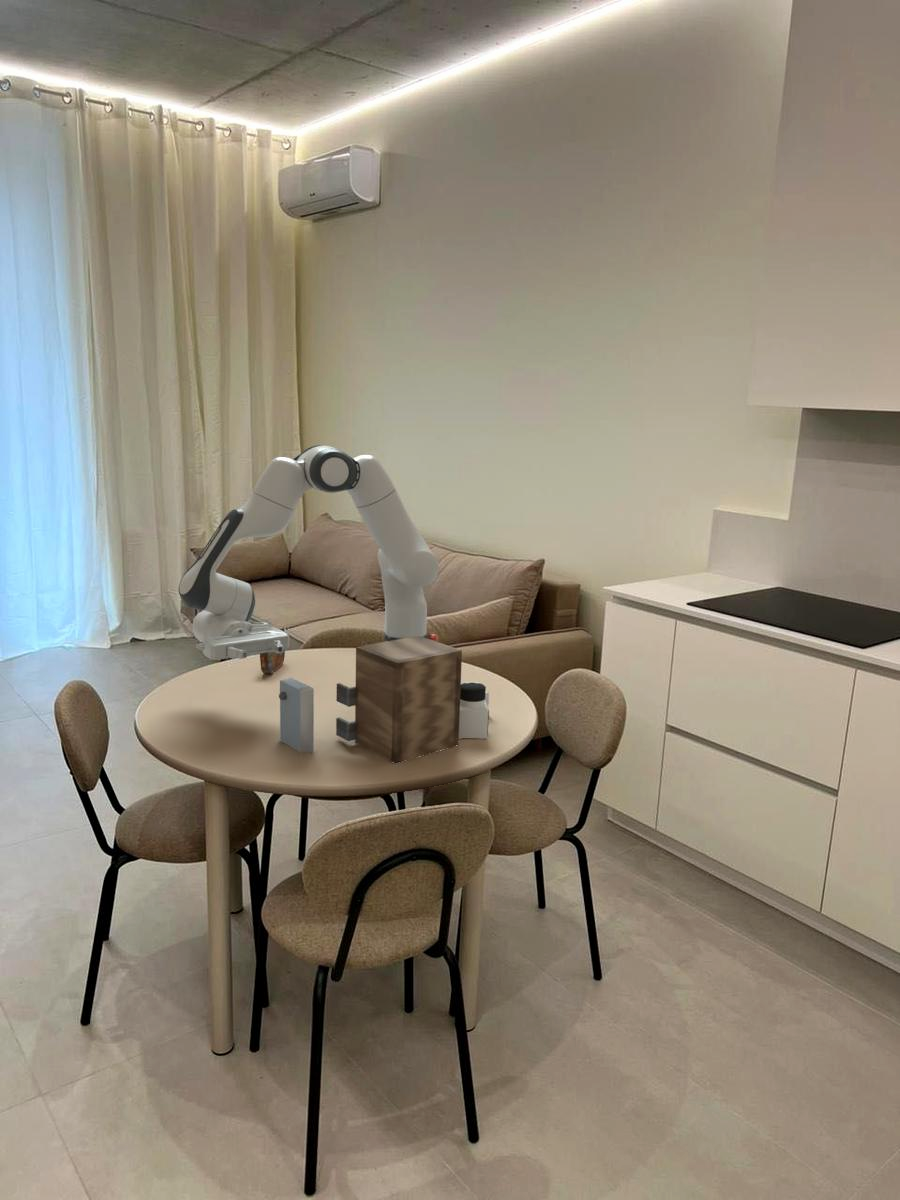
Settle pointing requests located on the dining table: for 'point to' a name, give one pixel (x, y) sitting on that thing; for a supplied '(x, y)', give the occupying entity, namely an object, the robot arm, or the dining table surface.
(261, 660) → the tin
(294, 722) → the door
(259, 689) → the dining table surface
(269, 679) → the dining table surface
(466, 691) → the medicine bottle
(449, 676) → the cabinet
